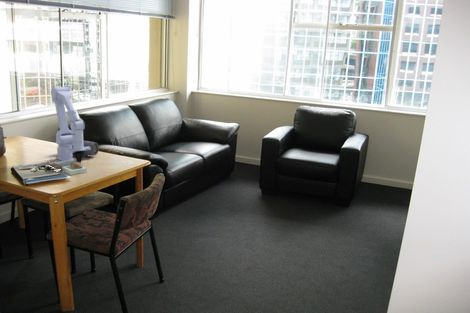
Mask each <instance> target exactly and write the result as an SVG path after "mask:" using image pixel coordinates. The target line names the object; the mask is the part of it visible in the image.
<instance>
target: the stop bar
mask: <svg viewBox="0 0 470 313" xmlns="http://www.w3.org/2000/svg"><path fill="white" fill-rule="evenodd" d="M47 164H48V165H50V166H52V167H54V168H56V169H60V166H58V165H56V164H54V162H51V161H49V162H47V163H46V165H47Z"/></svg>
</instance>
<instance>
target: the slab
mask: <svg viewBox="0 0 470 313" xmlns="http://www.w3.org/2000/svg"><path fill="white" fill-rule="evenodd" d="M72 162H77V163H79V164H81V165H82V161H81V162H78V161H77V160H76V159H75V160H74V159H73V160H67V161H61V160H60V161H54V162H53V163H54V164H56V165H58V166H60V169H61V170H62V167H63V166H69V165H70V164H71V163H72Z"/></svg>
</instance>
